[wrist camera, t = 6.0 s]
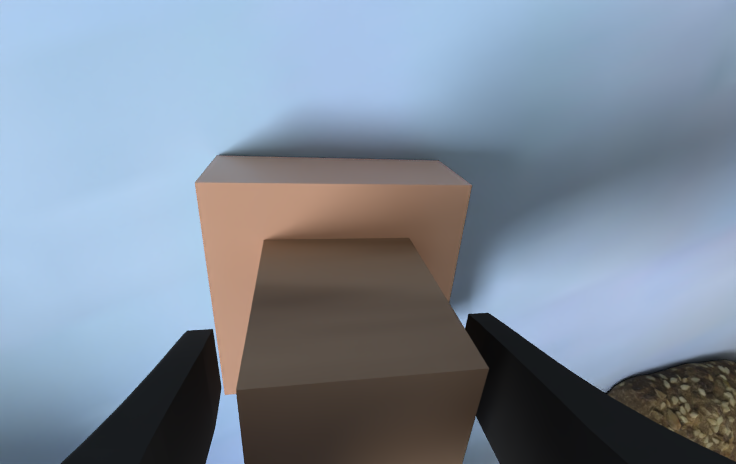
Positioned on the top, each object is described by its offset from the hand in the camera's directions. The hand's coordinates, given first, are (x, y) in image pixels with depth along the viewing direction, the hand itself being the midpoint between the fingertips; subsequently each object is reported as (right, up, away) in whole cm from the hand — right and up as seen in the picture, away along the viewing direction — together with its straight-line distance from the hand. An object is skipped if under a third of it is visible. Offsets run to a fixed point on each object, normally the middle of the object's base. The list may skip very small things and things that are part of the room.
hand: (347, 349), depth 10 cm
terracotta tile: (-1, +2, +5) cm, 5 cm away
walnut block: (0, +1, +2) cm, 2 cm away
